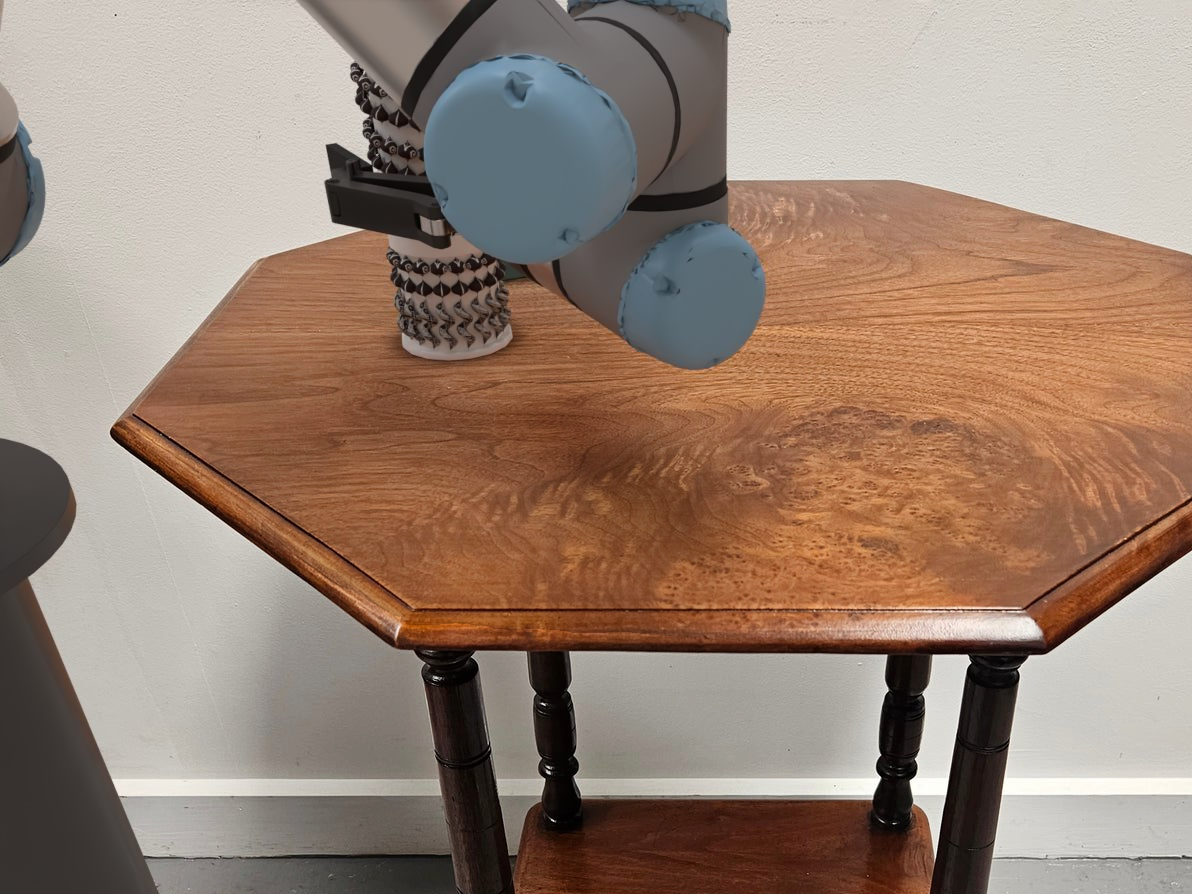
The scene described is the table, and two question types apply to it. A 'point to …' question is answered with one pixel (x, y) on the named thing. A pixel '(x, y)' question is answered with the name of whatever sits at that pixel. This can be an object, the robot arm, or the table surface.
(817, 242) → the table surface
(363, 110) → the bracelet display cylinder
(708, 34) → the robot arm
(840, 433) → the table surface
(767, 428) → the table surface
